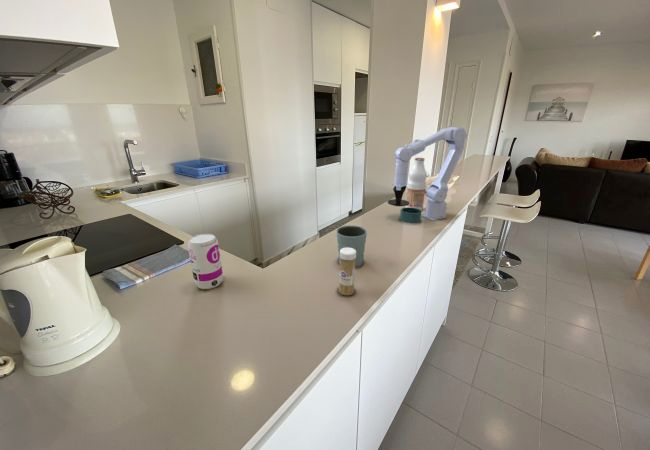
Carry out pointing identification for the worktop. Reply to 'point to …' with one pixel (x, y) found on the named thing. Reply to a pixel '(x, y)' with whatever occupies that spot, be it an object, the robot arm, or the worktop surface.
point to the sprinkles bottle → (347, 271)
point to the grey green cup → (352, 241)
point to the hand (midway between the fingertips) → (398, 201)
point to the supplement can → (205, 261)
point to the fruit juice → (416, 185)
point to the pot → (410, 215)
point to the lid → (394, 203)
